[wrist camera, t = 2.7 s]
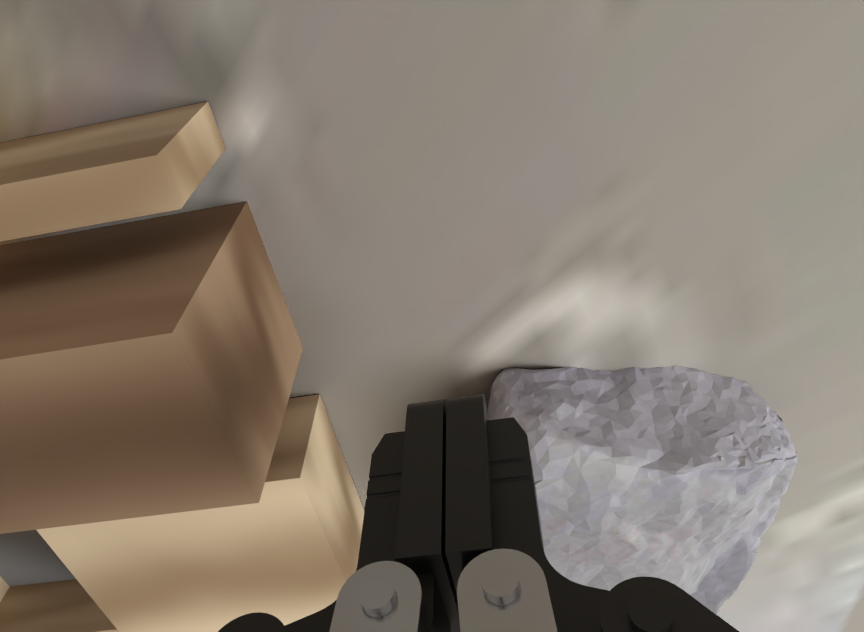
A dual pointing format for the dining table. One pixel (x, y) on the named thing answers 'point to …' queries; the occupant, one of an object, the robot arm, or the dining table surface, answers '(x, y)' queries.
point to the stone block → (649, 472)
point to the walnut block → (140, 370)
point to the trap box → (185, 531)
